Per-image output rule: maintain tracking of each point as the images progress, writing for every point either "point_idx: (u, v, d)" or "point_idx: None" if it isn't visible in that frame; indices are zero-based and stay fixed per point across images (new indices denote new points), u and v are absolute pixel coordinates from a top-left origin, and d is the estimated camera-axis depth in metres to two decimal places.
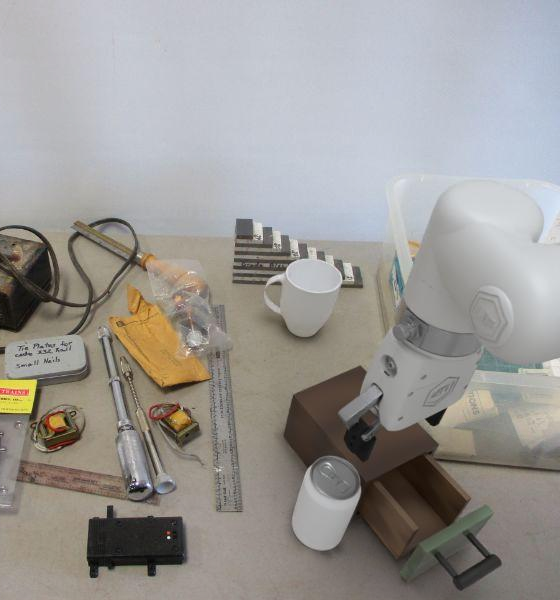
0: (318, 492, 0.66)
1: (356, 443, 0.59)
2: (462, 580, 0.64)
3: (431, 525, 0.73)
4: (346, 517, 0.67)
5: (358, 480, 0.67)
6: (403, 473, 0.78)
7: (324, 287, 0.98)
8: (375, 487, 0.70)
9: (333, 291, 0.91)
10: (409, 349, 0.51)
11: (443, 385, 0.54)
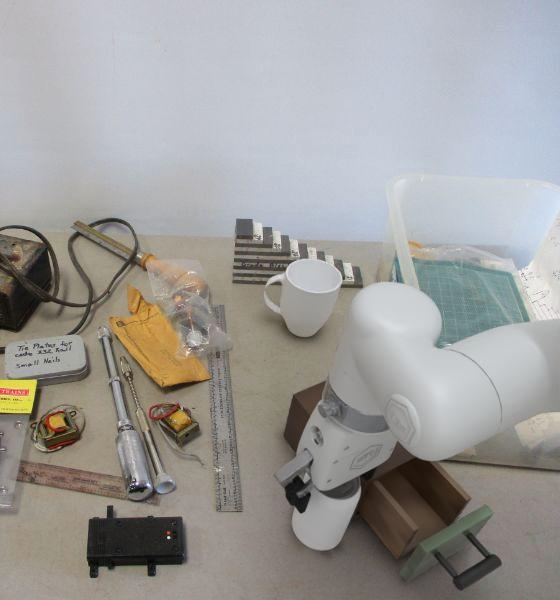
0: (318, 492, 0.66)
1: (293, 497, 0.65)
2: (462, 580, 0.64)
3: (431, 525, 0.73)
4: (346, 517, 0.67)
5: (358, 480, 0.67)
6: (403, 473, 0.78)
7: (324, 287, 0.98)
8: (375, 487, 0.70)
9: (333, 291, 0.91)
10: (333, 423, 0.56)
11: (367, 451, 0.60)
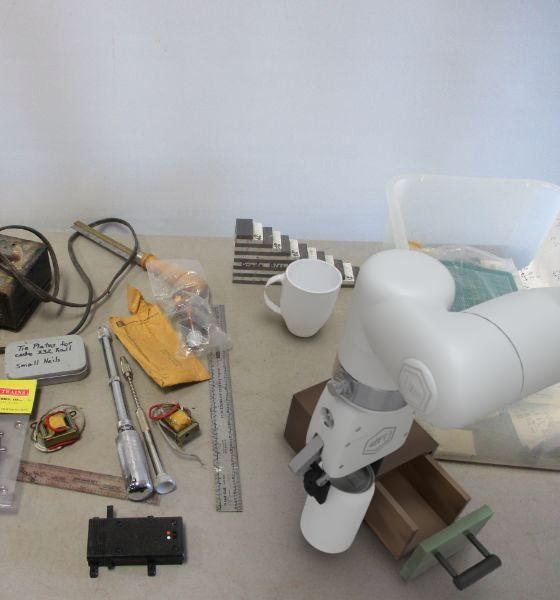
0: (331, 486, 0.63)
1: (312, 487, 0.63)
2: (462, 580, 0.64)
3: (431, 525, 0.73)
4: (360, 514, 0.64)
5: (372, 474, 0.64)
6: (403, 473, 0.78)
7: (324, 287, 0.98)
8: (375, 487, 0.70)
9: (333, 291, 0.91)
10: (344, 403, 0.54)
11: (381, 435, 0.57)
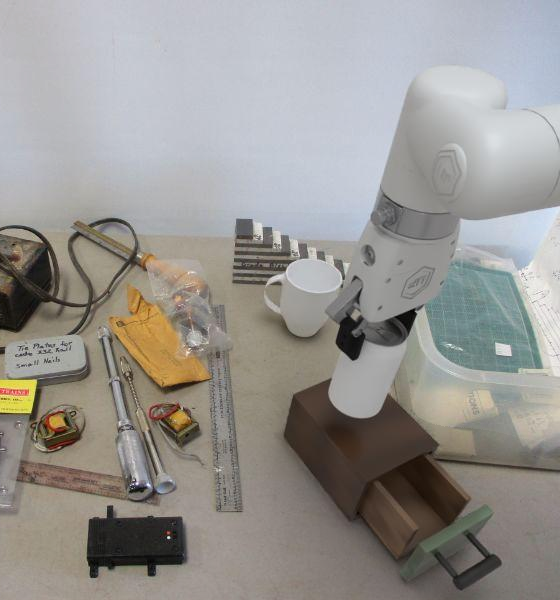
0: (364, 341, 0.64)
1: (347, 341, 0.63)
2: (462, 580, 0.64)
3: (431, 525, 0.73)
4: (392, 371, 0.65)
5: (404, 331, 0.65)
6: (403, 473, 0.78)
7: (324, 287, 0.98)
8: (375, 487, 0.70)
9: (333, 291, 0.91)
10: (386, 235, 0.54)
11: (419, 276, 0.57)
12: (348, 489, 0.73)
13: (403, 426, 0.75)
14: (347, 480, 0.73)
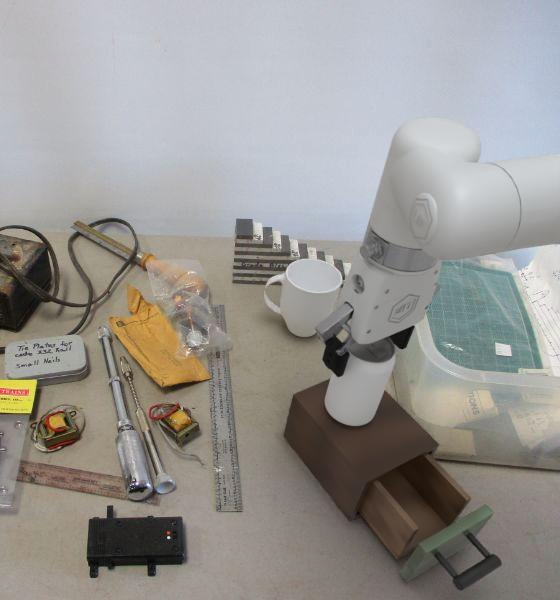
0: (355, 358, 0.68)
1: (332, 359, 0.68)
2: (462, 580, 0.64)
3: (431, 525, 0.73)
4: (381, 384, 0.69)
5: (393, 347, 0.69)
6: (403, 473, 0.78)
7: (324, 287, 0.98)
8: (375, 487, 0.70)
9: (333, 291, 0.91)
10: (374, 267, 0.59)
11: (405, 302, 0.62)
12: (348, 489, 0.73)
13: (403, 426, 0.75)
14: (347, 480, 0.73)
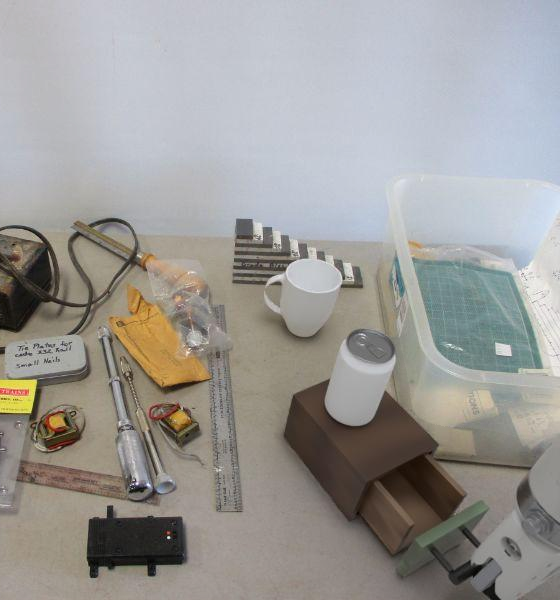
0: (355, 358, 0.68)
1: (491, 588, 0.62)
2: (457, 575, 0.64)
3: (427, 521, 0.74)
4: (381, 384, 0.69)
5: (393, 347, 0.69)
6: (400, 469, 0.78)
7: (324, 287, 0.98)
8: (371, 483, 0.71)
9: (333, 291, 0.91)
10: (536, 539, 0.51)
11: None
12: (348, 489, 0.73)
13: (403, 426, 0.75)
14: (347, 480, 0.73)
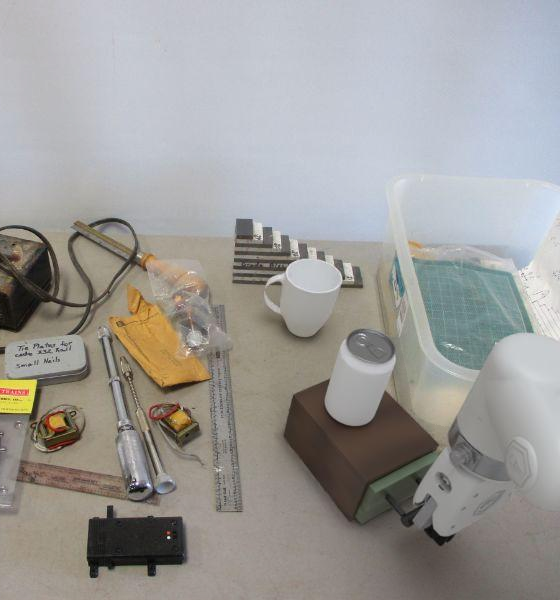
0: (355, 358, 0.68)
1: (435, 531, 0.67)
2: (408, 517, 0.69)
3: None
4: (381, 384, 0.69)
5: (393, 347, 0.69)
6: None
7: (324, 287, 0.98)
8: None
9: (333, 291, 0.91)
10: (463, 471, 0.57)
11: (491, 498, 0.60)
12: (348, 489, 0.73)
13: (403, 426, 0.75)
14: (347, 480, 0.73)
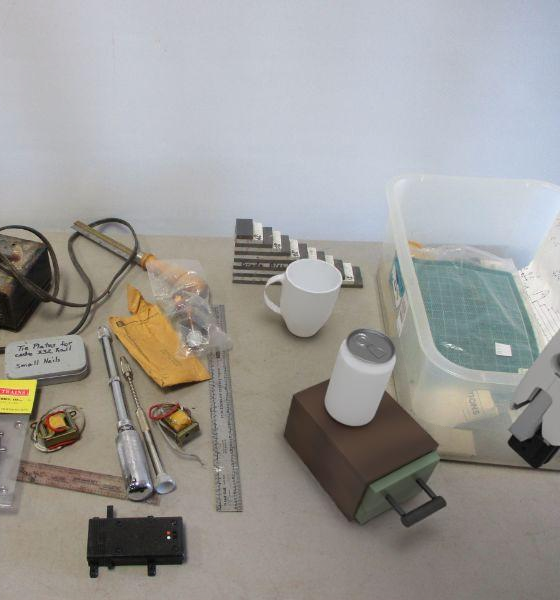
0: (355, 358, 0.68)
1: (532, 447, 0.52)
2: (408, 517, 0.69)
3: None
4: (381, 384, 0.69)
5: (393, 347, 0.69)
6: None
7: (324, 287, 0.98)
8: None
9: (333, 291, 0.91)
10: None
11: None
12: (348, 489, 0.73)
13: (403, 426, 0.75)
14: (347, 480, 0.73)
